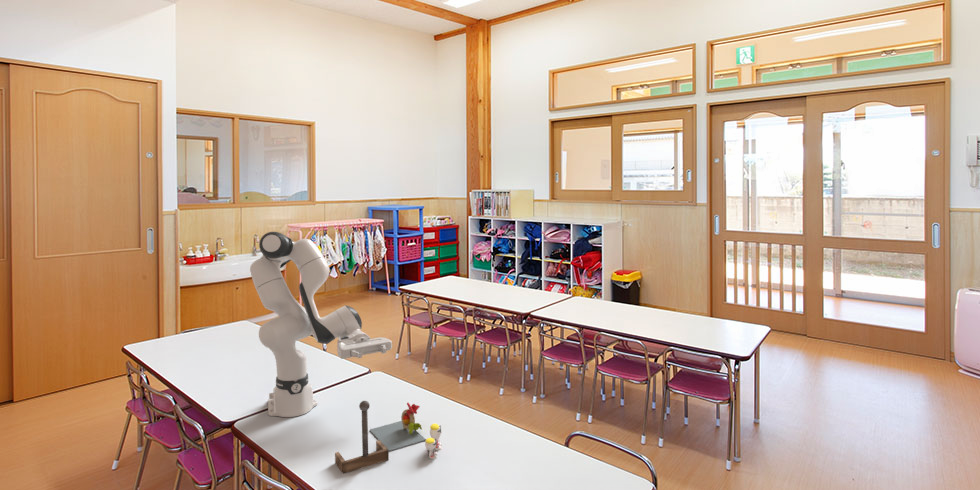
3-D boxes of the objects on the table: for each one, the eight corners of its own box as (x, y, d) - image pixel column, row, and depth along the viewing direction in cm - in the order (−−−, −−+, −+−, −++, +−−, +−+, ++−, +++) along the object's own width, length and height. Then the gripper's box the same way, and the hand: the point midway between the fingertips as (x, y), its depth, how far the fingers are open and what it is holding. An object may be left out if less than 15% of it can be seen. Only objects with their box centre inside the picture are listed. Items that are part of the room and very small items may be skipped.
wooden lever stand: (335, 462, 175) (333, 398, 172) (379, 449, 183) (378, 388, 180) (344, 475, 168) (342, 408, 165) (389, 461, 176) (388, 397, 173)
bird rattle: (398, 437, 196) (413, 435, 190) (390, 407, 197) (405, 404, 191) (411, 431, 200) (426, 429, 194) (404, 402, 202) (418, 399, 196)
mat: (369, 430, 197) (369, 429, 197) (404, 421, 205) (404, 420, 205) (389, 451, 182) (389, 450, 182) (425, 440, 190) (425, 439, 190)
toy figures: (436, 460, 177) (436, 437, 176) (423, 459, 178) (423, 435, 176) (444, 442, 189) (444, 420, 188) (432, 441, 189) (432, 419, 188)
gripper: (384, 346, 215) (398, 356, 203) (334, 356, 204) (346, 367, 192) (384, 331, 214) (398, 340, 203) (333, 340, 203) (345, 350, 191)
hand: (372, 353), depth 197 cm, fingers open, 8 cm apart
